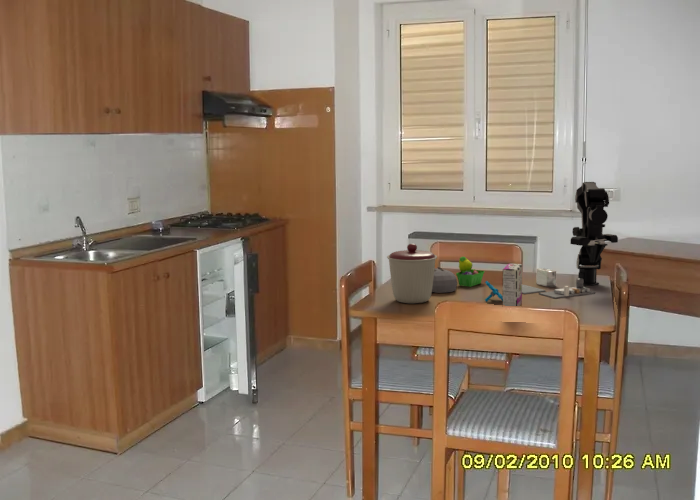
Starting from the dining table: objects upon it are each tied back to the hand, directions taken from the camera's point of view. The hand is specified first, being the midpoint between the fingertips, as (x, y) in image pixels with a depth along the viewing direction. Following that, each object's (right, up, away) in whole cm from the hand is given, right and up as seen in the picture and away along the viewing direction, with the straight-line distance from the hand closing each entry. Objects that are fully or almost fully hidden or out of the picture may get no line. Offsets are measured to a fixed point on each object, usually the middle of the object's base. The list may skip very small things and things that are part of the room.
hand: (593, 262), depth 277 cm
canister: (-70, -14, -12) cm, 73 cm away
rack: (-9, -11, -4) cm, 15 cm away
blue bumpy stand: (-41, -14, -15) cm, 46 cm away
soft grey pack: (-58, -11, +9) cm, 60 cm away
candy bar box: (-39, -17, -36) cm, 56 cm away
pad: (-25, -11, +5) cm, 28 cm away
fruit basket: (-45, -10, +18) cm, 49 cm away
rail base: (-11, -12, -4) cm, 17 cm away
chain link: (-14, -9, +14) cm, 22 cm away
